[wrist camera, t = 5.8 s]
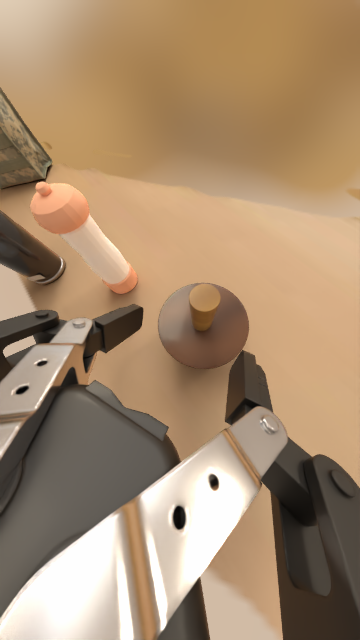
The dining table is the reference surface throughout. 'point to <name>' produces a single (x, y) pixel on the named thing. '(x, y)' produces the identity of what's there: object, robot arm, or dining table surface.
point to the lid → (203, 325)
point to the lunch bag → (19, 149)
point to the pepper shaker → (81, 233)
